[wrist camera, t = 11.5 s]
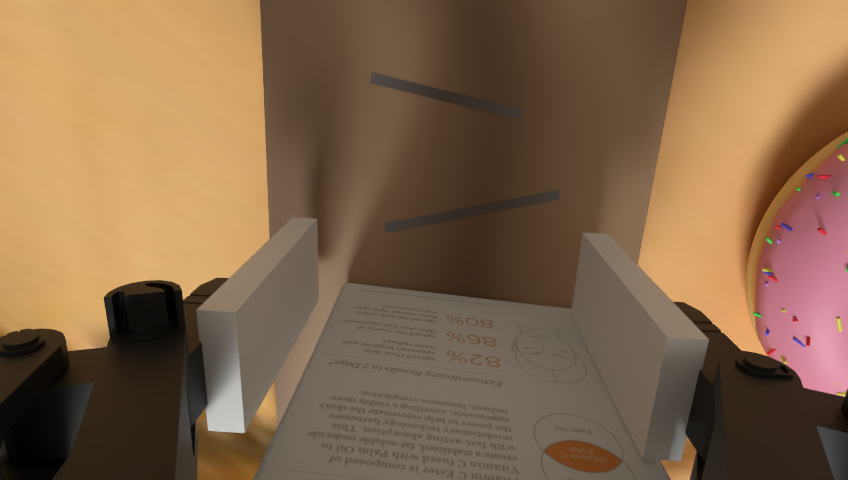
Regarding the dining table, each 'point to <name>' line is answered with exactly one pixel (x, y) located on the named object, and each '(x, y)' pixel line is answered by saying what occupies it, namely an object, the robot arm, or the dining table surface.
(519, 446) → the small box
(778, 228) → the doughnut
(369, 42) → the board
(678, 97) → the dining table surface
